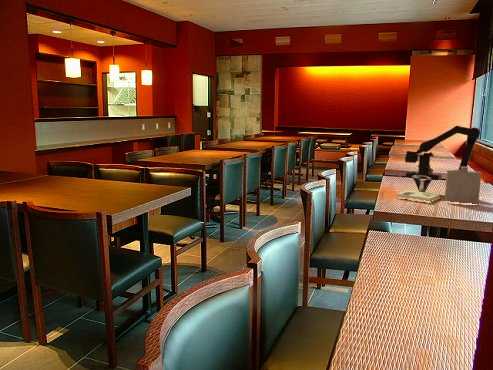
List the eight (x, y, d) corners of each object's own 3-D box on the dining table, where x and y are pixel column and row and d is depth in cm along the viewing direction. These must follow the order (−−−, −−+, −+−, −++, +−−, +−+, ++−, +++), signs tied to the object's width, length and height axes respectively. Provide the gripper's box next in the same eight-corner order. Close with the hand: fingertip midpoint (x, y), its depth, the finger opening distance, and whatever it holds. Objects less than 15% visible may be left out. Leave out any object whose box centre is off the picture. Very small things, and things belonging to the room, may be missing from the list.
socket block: (439, 200, 231) (440, 194, 230) (429, 204, 221) (429, 197, 220) (407, 195, 243) (407, 189, 243) (396, 198, 234) (396, 193, 233)
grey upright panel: (477, 205, 219) (481, 167, 216) (478, 206, 216) (482, 168, 212) (444, 202, 226) (447, 165, 222) (444, 203, 222) (447, 166, 218)
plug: (426, 193, 245) (427, 180, 244) (423, 194, 243) (424, 180, 242) (420, 192, 248) (421, 179, 246) (417, 193, 245) (418, 180, 244)
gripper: (446, 163, 241) (443, 190, 244) (414, 161, 254) (412, 186, 257) (438, 165, 234) (436, 193, 236) (406, 162, 246) (404, 188, 249)
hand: (422, 190), depth 245 cm, fingers closed on plug, 3 cm apart
